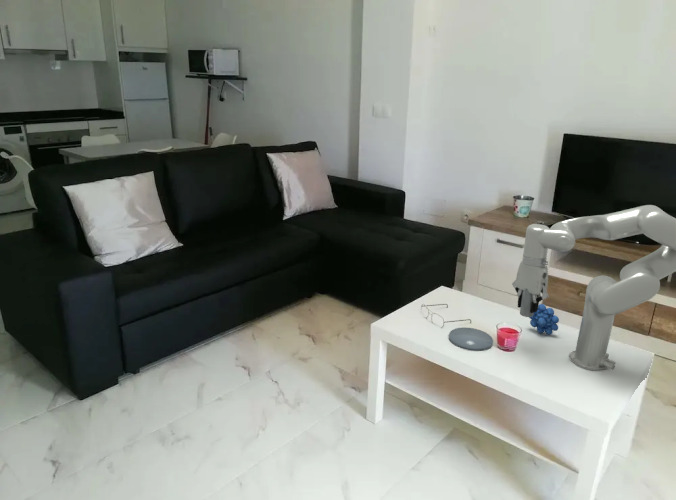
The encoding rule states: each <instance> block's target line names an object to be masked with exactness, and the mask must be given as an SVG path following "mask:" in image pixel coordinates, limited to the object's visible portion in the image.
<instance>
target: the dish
mask: <svg viewBox="0 0 676 500" xmlns="http://www.w3.org/2000/svg"><path fill="white" fill-rule="evenodd" d="M448 339H449V341H450V343H451V344H452V345H454V346H456V347H458V348H460V349H462V350H467V351H473V352H481V351H486V350H489V349H491V348H492V346H493V344H494V339H493V337H492V336H491V335H490V334H489V333H487V332H486V331H483V330H481V329H477V328H473V327H465V326H464V327H456V328H454V329H452V330H450V332H449V334H448Z"/></svg>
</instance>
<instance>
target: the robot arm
mask: <svg viewBox="0 0 676 500" xmlns="http://www.w3.org/2000/svg"><path fill="white" fill-rule="evenodd" d="M642 234H643V235H645V236H646V237H647V238H649V239H651V240H653V241H655V242H657V243H658V244H661V245H660V247H658V249H656V250H654V251H653V252H651V253H649V254H647V255H645V256H643V257H641V258H638V259H637V260H635V261H632V262H630V263H628V264H626V265H625V266H623V267H622V269H621V270H620V272H619V278H620V280H619V281H616V280H615V279H614V278H612V277H611V276H608V275H597V276H595V277H593V278H591V280H590V281H589V282H588V284H587V286H586V290H585V299H584V307H583V311H582V317H581V322H580V326H579V327H580V328H579V332H578V338H577V341H576V347H575V350H572V351H570V352H569V355H568V357H569V360H570V361H571V362H572V363H573V364H575V365H576V366H577V367H580V368H583V369H585V370H589V371H598V372H599V371H605V370H607V369H608V370H609V369H610V370H611V371H614V369H615V368H616V361H615V360H611V359H610V358H609V357H610V354H609V353H607V351H608V347H609V342H610V339H611V333H612V331H613V325H614V322H615V316H616V315H619V314H621V313H623V312H626V311H628V310H630V309H632V308H635V307H637V306H639V305H642V304H643V303H645V302H647V301H649V300H651V299H653V298H655V296H656V295H657V294H658V293H659V291H660V288H661V282H660V280H662V279H664V278H666V277H668V276H670V275H672V274H674V273H676V217H673V216H672V215H670V214H669V213H667V212H665V211H663V209H661V208H660V207H658V206H656V205H653V204H645V205H640V206H636V207H633V208H632V207H631V208H629V209H623V210H621V211H616V212H610V213H605V214H597V215H590V216H589V215H587V216H580V217H575V218H570V219H565V220H561V221H558V222H556V223H554V224H553V225H552V226H551V227H549V226H547V225H544V224H539V223H533V224H529V225H528V226H527V227H526V231H525V238H524V245H523V253H522V260H521V261H520V263H519V266H518V268H517V273H516V278H515V280H514V281H513V282H512V283H511V285H512V287H513V288H514V289H515V292H516V293H517V294H516V296H517V297H518V298H517V308H519V309H520V308H521V300H522V293H523V290H524V288H525V289H528V291H529V293H531V294H532V295H533V302H531V308H530V313H534V312H537V310H538V306H539V304H540V302H541V301H543V300H546V299H548V298H550V295H549V293H548V284H549V282H548V281H549V270H548V266H549V263H550V262H549V261H548V260H547V257H548V251H549V250H552V251H556V252H562V253H563V252H564V253H565V252H568V251H571V250H572V249H573V248H574V247H575V245H576V240H579V239H584V238H585V239H586V238H597V239H600V240H605V241H615V240H618V239H623V238H627V237H632V236H635V235H636V236H637V235H642ZM548 249H549V250H548Z"/></svg>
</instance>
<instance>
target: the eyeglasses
mask: <svg viewBox="0 0 676 500" xmlns="http://www.w3.org/2000/svg"><path fill="white" fill-rule="evenodd" d="M420 306H421V307H420V309H422V308H423V307H424V306H425V308H426V309H427V310H428V313H427V316H426V317H425V319H427V318H428V317H429V316H430V315H433V314H434V315H437V316H439V317H441V318H442V316H441V315H440V314H438V313H435V312H433V311H431V310H430V309H429V308H428V307H432V306H433V307H434V306H435V307H436V304H429V305H428V304H427V305H425V304H424V303H423V304H421V305H420ZM437 306H446V308H448V307H449V305H448V303H439V304H437ZM442 320H443V325H442V326H441V327H440V328H441V329H442V328H443V327H444V326H445V323H446V321H445V320H444V318H442ZM465 321H469V324H472V319H469V318H467V319H459V320H458V319H457V322H465ZM453 322H456V320H450V321H449V320H448V321H447V323H453ZM431 323H432V324H434V323H433V316H431Z"/></svg>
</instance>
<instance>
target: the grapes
mask: <svg viewBox="0 0 676 500" xmlns="http://www.w3.org/2000/svg"><path fill="white" fill-rule="evenodd" d="M528 318H529V319H530V321H529V325H530V326H532V328H536V331H537V332H538V334H544V333H545V334H546V335H548V336H550V335H552V334H553V332H554V331H558V330H559V325H558V323H559V321H560V319H559V316H557V315H556V314H555V310H554V309H553V308H552V307H547V306H546V304H543V303H539V305H538V310H537V312H534V314H533V316H532V317H528Z"/></svg>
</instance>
